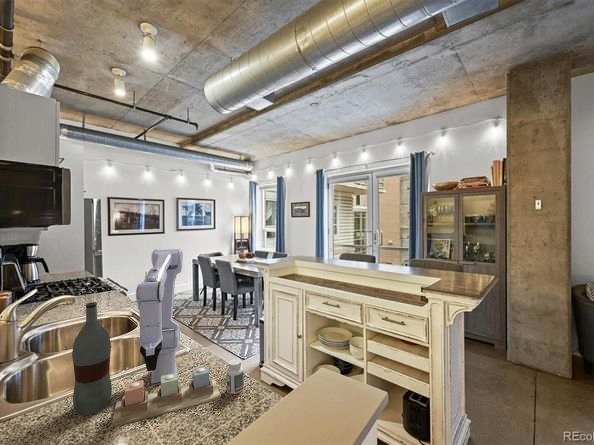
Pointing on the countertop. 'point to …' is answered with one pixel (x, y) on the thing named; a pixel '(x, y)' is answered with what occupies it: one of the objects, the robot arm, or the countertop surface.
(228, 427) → the countertop surface
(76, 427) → the countertop surface
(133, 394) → the terracotta block
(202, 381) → the slate-blue block
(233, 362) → the pill bottle
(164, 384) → the sage block
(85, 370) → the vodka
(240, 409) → the countertop surface
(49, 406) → the countertop surface
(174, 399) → the birch board
